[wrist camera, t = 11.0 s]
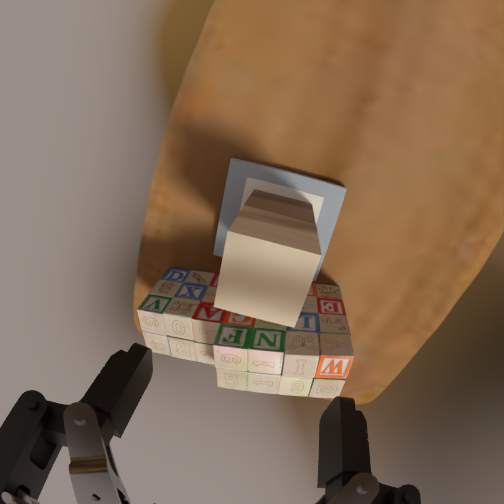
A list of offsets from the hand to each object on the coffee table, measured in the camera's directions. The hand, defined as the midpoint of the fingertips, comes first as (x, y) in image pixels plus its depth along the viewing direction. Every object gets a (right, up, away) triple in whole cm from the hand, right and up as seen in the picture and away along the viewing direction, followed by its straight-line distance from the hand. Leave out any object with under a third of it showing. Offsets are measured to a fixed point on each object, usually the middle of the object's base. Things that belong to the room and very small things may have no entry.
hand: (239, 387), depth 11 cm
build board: (+3, +9, +20) cm, 22 cm away
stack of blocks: (+1, 0, +25) cm, 25 cm away
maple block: (+2, +6, +13) cm, 15 cm away
